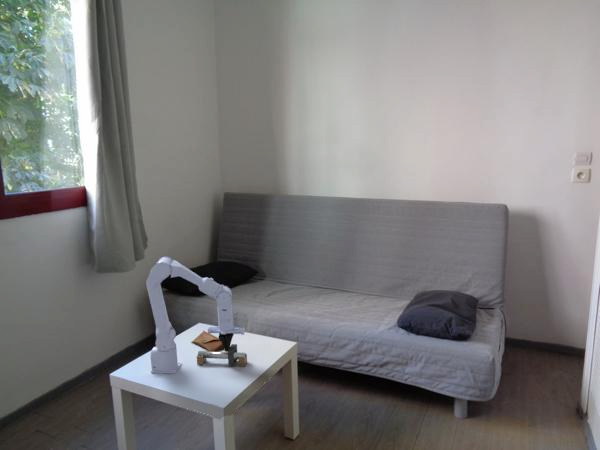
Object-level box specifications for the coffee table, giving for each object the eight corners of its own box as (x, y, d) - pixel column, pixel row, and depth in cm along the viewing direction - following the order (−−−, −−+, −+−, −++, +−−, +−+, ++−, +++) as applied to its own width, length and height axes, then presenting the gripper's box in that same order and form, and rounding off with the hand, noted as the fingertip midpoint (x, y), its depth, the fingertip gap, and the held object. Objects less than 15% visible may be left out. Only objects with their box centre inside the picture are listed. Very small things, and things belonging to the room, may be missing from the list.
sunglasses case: (188, 342, 201) (194, 327, 203) (201, 345, 206) (206, 331, 208) (211, 354, 189) (217, 338, 190) (224, 357, 194) (229, 342, 195)
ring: (228, 365, 177) (227, 350, 176) (232, 359, 183) (231, 344, 182) (233, 366, 177) (232, 350, 176) (237, 359, 182) (236, 344, 181)
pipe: (197, 364, 180) (196, 353, 179) (200, 360, 184) (200, 348, 183) (244, 366, 177) (243, 355, 176) (247, 362, 181) (246, 350, 180)
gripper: (204, 321, 174) (206, 354, 176) (240, 322, 172) (242, 355, 174) (210, 314, 181) (212, 346, 183) (245, 315, 179) (247, 347, 181)
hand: (227, 350), depth 179 cm, fingers closed
